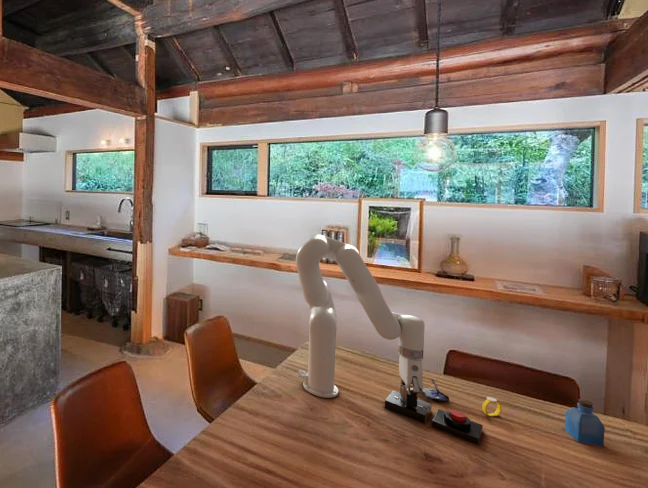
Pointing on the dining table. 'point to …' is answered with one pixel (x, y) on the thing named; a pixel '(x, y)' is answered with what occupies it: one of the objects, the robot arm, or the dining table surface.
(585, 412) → the perfume bottle
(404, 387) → the heat knob
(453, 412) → the button
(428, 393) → the snack package
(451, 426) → the button block
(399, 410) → the control panel
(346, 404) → the dining table surface
